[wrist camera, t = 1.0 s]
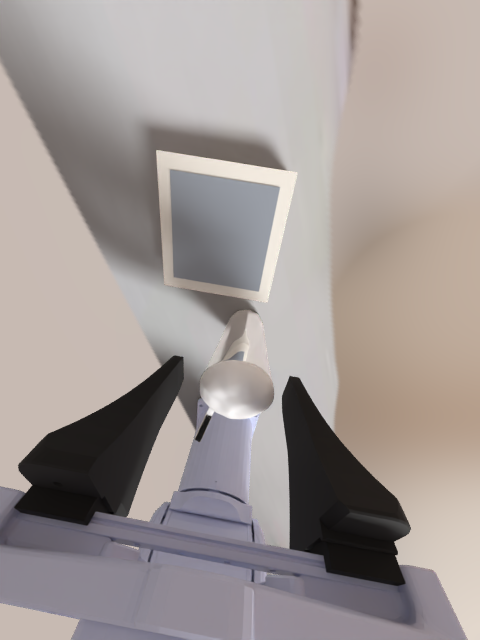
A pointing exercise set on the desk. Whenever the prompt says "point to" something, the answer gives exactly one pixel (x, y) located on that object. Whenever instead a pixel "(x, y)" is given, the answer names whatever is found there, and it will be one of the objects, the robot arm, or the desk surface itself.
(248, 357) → the milkshake
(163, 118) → the desk surface
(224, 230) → the plinth
